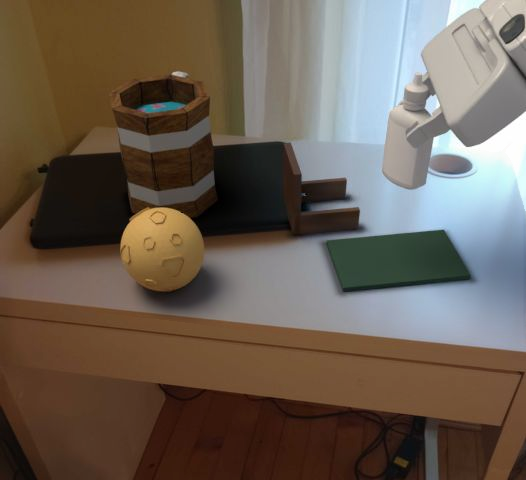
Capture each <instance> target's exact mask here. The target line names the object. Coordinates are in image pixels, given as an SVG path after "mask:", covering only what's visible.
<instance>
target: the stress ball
mask: <svg viewBox="0 0 526 480" xmlns="http://www.w3.org/2000/svg"><path fill="white" fill-rule="evenodd" d="M119 250H120V251H119V252H120V258H121V261H122V264H123V266H124V269H125V270H126V272H127V274H129V276H130V277H131V278H132V279H133V280H134V281H135V282H136V283H138V285H140V286H142V287H144V288H146V289H149V290H152V291H156V292H172V291H176V290H178V289H181V288H183V287H185V286H186V285H188V284H189V283H191V282H192V280H194V279H195V277H196V276H197V275H198V274H199V272H200V270H201V268H202V266H203V263H204V260H205V242H204V239H203V235H202V233H201V231H200V229H199V227H198V226H197V224H196V223H195V221H194V220H192V218H189V217H188V216H186V215H185V214H183V213H181V212H179V211H177V210H174V209H170V208H152V209H150V208H149V207H148V208H146V209H143V210H142V211H140V212H139V213H137V214H134V215H132V216H131V217H130V218H129V223H128V224H127V225H126V227H125V228H124V230H123V233H122V235H121V240H120V249H119Z"/></svg>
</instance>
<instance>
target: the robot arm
mask: <svg viewBox="0 0 526 480" xmlns="http://www.w3.org/2000/svg"><path fill="white" fill-rule="evenodd" d="M420 57H421V60H422V62H423V66H424V67H425V70H426V72H425V73H424V74H422V83H423V84H424V85H426V86H427V87H428V94H427V100H428V99H429V98H431V97H434V96H436V99H437V101H438V104H439V106H438V107H437V108H436V109H434V111H432V113H431V117H429V118H428V119H426V120H424V121H422V122H421V123H418V121H416V122H415V123H414V124H413V125H412V126H411V127H410V128H408V129H407V130H406V132H405V135H406V139H407V141H408V142H409V143H410V145H411V146H412V147H414V148H418V147H419V146H421V145H422V144H423V143H424V142H426V141H427V140H428V139H431V138H434V139H435V138H436V137H439V136H442V135H445V134H447V133H448V132H449V131H451V132H452V134H453V135H454V136H455V137H456V139H458V141H460V142H461V144H462V145H463V146H464V147H466V148H472V147H475V146H479V145H481V144H483V143H485V142H486V141H488V140H490V139H491V138H492V137H494V136H495V135H497V134H498V133H499V132H501V131H502V130H503V129H506V128H507V127H508V126H509V125H510V124H512V123H513V122H514V121H516V120H517V119H518V118H520V117H521V116H522V115H523V114H525V112H526V0H484V1H483V2H481V3H480V5H479V6H478V7H473V8H471V9H468V10H467V11H466V12H464V13H463V14H461V15H460V16H458V17H457V18H456V19H454V20H453V21H452V22H450V24H448V25H446V27H445V28H443V29H442V30H441V31H439V33H437V34H436V35H435V36H434V37H433V38H432V39H430V40H429V41H428V42H427V43H426V45H425V46H424V47H423V49H422V50H421V52H420ZM402 104H403V99H401V101H399V102H398V104H397V106H399V105H402Z"/></svg>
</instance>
